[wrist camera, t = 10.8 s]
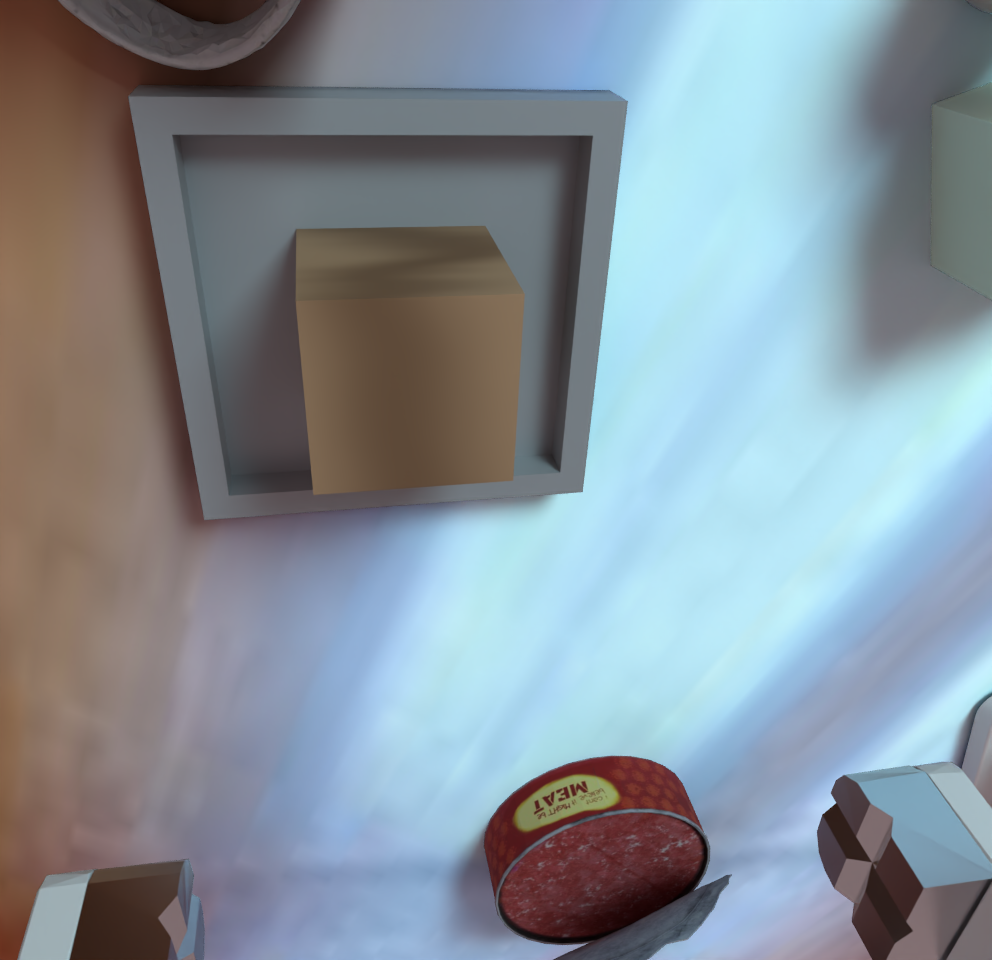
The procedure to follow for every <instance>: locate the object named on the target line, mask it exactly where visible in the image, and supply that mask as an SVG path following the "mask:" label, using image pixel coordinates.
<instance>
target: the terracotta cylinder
mask: <svg viewBox="0 0 992 960" xmlns="http://www.w3.org/2000/svg"><path fill="white" fill-rule="evenodd" d="M965 1H967V2H968V3H969V4H970V5H971V6H973V7H975V8H976V9H978V10H980V11H983V12H987V13H991V14H992V0H965Z"/></svg>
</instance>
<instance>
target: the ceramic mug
mask: <svg viewBox="0 0 992 960" xmlns="http://www.w3.org/2000/svg"><path fill="white" fill-rule="evenodd" d="M58 1H59V2H60V3H61V4H62V5H63V6H64V7H65V8H66V9H67V10H68V11H70V12H71V13H72V14H73V15H75V16H76V17H77V18H78V19H80V20H81V21H82V22H83V23H85V24H86V25H88V26H89V27H91V28H93V29H94V30H95V31H97V32H98V33H99V34H100V35H102V36H103V37H104V38H106V39H108V40H109V41H111V42H113V43H115V44H117V45H119V46H121V47H123V48H125V49H127V50H129V51H131V52H133V53H135V54H137V55H139V56H142V57H144V58H147V59H149V60H152V61H155V62H158V63H160V64H164V65H167V66H171V67H175V68H179V69H188V70H208V69H213V68H218V67H222V66H226V65H228V64H231V63H233V62H235V61H238V60H240V59H243V58H246V57H247V56H249V55H250V54H252V53H253V52H255V51H256V50H259V49H261V48H263V47H264V46H265V45H266V44H267V43H268V42H269V41H270V40H271V39H272V38H273V37H274V36H275V35H276V34H277V33H278V32H279V31H280V30H281V28H282V27H283V26H284V25H285V24H286V23H287V22H288V20H289V19H290V18H291V16H292V15H293V13H294V11H295V9H296V8H297V6H298V4H299V3H300V1H301V0H267V1H266V2H265V3H264V4H263V5H262V6H261V7H260V8H259V9H258V10H256V11H255V12H253V13H251V14H250V15H248V16H246V17H245V18H243V19H242V20H238V21H236V22H232V23H229V24H213V23H211V22H208V21H199V22H197V21H195V20H193V19H191V18H188V17H186V16H183V15H181V14H179V13H177V12H175V11H173V10H172V9H170V8H168V7H166V6H164V5H162V4H161V3H159V2H157V1H155V0H58Z"/></svg>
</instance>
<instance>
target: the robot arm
mask: <svg viewBox="0 0 992 960" xmlns="http://www.w3.org/2000/svg"><path fill="white" fill-rule="evenodd" d="M831 794H832V796H833V798H834V799H835V801H836V804H835V805H834V806H832V807H831V808H830V809H829V810H828V811H826V812H825V813H824V814H823V815H822V818H821V821H820V824H819V827H818V830H817V837H818V848H819V854H820V857H821V860H822V863H823V866H824V869H825V871H826V873H827V875H828V877H829V879H830V881H831V883H832V885H833V887H834V889H836V890H837V891H838V892H840V893H841V894H842V895H844V896H845V897H847V898H848V899H849V900H851V901H852V902H853V903H854V908H853V916H852V923H853V925H854V926H855V928H856V930H857V932H858V934H859V936H860V938H861V939H862V941H863V943H864V945H865V947H866V949H867V951H868V952H869V954H870V956H871V958H872V960H992V696H991V697H990V698H988V699H987V700H986V701H985V702H984V703H983V704H982V705H981V706H980V707H979V709H978V710H977V713H976V716H975V719H974V723H973V727H972V731H971V735H970V738H969V742H968V746H967V750H966V754H965V758H964V761H963V765H962V769H960V768H959V767H958V766H956V765H955V764H953V763H952V762H938V763H931V764H924V765H918V766H902V767H896V768H889V769H882V770H875V771H868V772H861V773H854V774H848V775H843V776H842V777H840V778H839V779H837V780H836V782H835V784H834V786H833V789H832V791H831ZM193 880H194V874H193V871H192V867H191V864H190V861H189V859H183V860H174V861H166V862H157V863H149V864H140V865H131V866H123V867H114V868H106V869H92V870H84V871H76V872H69V873H61V874H53V875H47V876H46V878H45V879H44V881H43V883H42V885H41V886H40V888H39V890H38V891H37V894H36V898H35V901H34V904H33V908H32V911H31V915H30V918H29V921H28V925H27V928H26V932H25V935H24V938H23V942H22V945H21V949H20V952H19V955H18V959H17V960H204V935H205V928H204V918H203V910H202V905H201V901H200V898H199V897H197V896H195V895H193V894H192V888H193Z"/></svg>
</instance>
